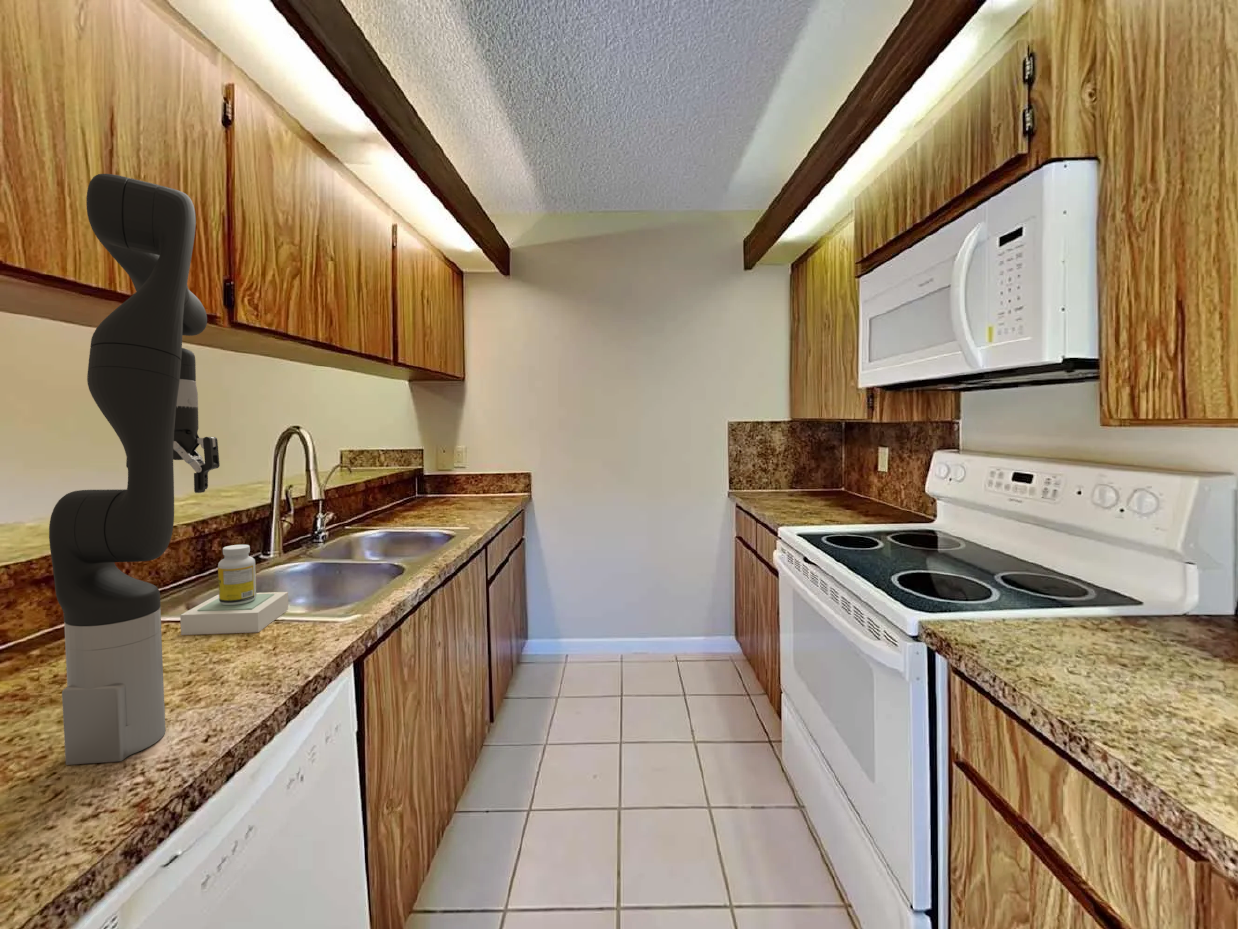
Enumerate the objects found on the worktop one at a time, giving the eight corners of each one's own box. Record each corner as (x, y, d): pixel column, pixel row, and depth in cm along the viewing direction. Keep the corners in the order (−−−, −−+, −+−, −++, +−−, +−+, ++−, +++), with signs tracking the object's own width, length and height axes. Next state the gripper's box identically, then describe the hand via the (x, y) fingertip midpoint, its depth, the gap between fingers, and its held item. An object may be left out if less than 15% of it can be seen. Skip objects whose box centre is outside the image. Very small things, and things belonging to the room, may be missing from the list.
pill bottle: (235, 596, 122) (233, 542, 121) (263, 597, 121) (262, 544, 120) (211, 605, 115) (209, 549, 114) (240, 607, 115) (239, 550, 114)
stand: (258, 632, 113) (257, 611, 112) (181, 635, 111) (180, 613, 110) (288, 609, 127) (287, 590, 126) (219, 611, 124) (219, 592, 124)
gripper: (225, 406, 108) (227, 490, 109) (143, 405, 106) (145, 491, 107) (203, 404, 101) (204, 494, 102) (114, 402, 99) (116, 494, 100)
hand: (174, 492), depth 104 cm, fingers open, 8 cm apart
